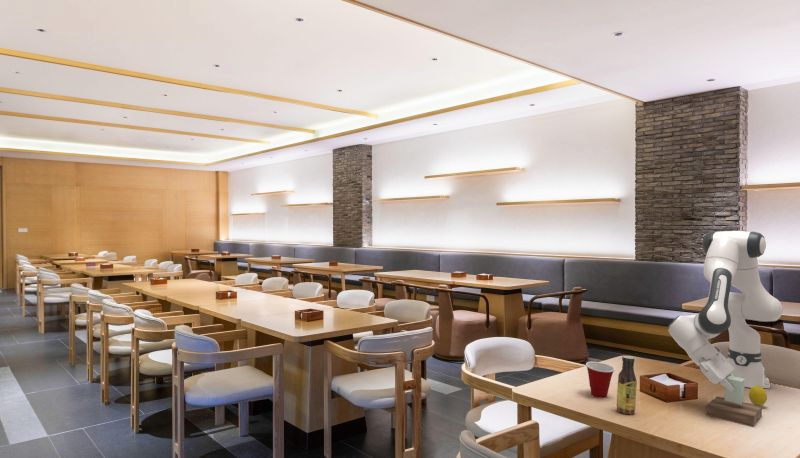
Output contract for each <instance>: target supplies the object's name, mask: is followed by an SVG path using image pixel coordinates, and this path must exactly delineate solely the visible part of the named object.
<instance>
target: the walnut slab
mask: <svg viewBox="0 0 800 458" xmlns="http://www.w3.org/2000/svg"><path fill="white" fill-rule="evenodd" d="M762 406H763V405H760V406H758V405H755V404H754V403H749V402H745V401H744V402H743V403H742V404H738V403H734V402H729V401H725V397H722V396H716V397H714V399H712V400H711V401H710V402H709V403H707V404H706V412H705V413H706V416H708V417H713V418H716V419H720V420H724V421H729V422H731V423H735V424H741V425H744V426H748V427H752V428H754V427H755V425H756V424H757V423H758V422H759V420H760V419H761V417H762V415H763V414H762V412H763V411H762V410H763V407H762Z"/></svg>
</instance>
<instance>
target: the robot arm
mask: <svg viewBox="0 0 800 458" xmlns="http://www.w3.org/2000/svg"><path fill="white" fill-rule="evenodd" d="M701 244H702V249H703V250H702V251H704V252H705V254H706V255H705V259H704V263H703V276H704V278H705V280H706V281H708V282H709V283H710V286H709V291H708V298H707V302H706V304H705V305H704V306H703V308H701V310H700V311H699V312H698V313H696V314H690V315H677V316H676V317H675V318H674V319H673V320H672V321H671V322H670V323H669V325H668V327H667V331H668V333H669V334H670V336H671V338H673V340H674V341H675V342H676V343H677V345H678V346H679V347H680V348H682V349H683V350H684V351H685V352H686V354H687V355H688V356H687V357H689V358H690V359H691V360H692V362H693V363H695V365H696V366H697V367H699V369H700V371H701V372H702V373H703V375H704V376H705V377H706V379H708V381H709V382H710V383H711V384H713V385H715V386H716V385H717V384H719V383H720V385H721V386H722V387H724V388H725V387H726V388H727V389H728V390H729V391H730V392H732V391H733V390H735V387H734V386H733V385H731V384H730V383H729V382H728V381H727V380H726V377H727V376H734V377H739V378H744V379H745V388H750V389H751V388H752V387H754V386H757V385H759V386H760V387H762V388H763V389H771V385H770V380H769V378H768V377H767V375H765V367H764V365H763V364H762V358H763V357H762V352H761V335H760V333H759V332H758V331H757V330H756V329H754V328H752V327H751V326H749V324H748V323H747V322H746V320H750V321H751V320H752V321H757V322H776V321H778V320H779V319H780V318H781V316H783V309H784V308H783V305H782V303H781V301H780V300H779V299H778V298H776V297H774V296H773V295H771V294H770V293H769V291H767V289H765V287H764V285H763V284H762V281H761V277H760V272H759V261H758V258H760V257H761V256H762V255H764V253H765V252H766V249H767V248H766V247H767V242H766V239H765V236H764V235H763V234H762V233H760V232H756V231H744V230H726V231H725V230H722V231H716V230H714V231H709V232H706V233H705V235H704V236H703V238H702V243H701ZM731 287H733V288H735V289H737V290H738V291H740V292H733V291H732V292H731ZM727 330H728V334H729V335H728V336H729V347H728V349H727V358H726V356H725V355H724V354H722V353H721V352H722V350H721V349H720V348H719V347H717V346H714V345H713V344H711V342H710V341H709V340H710V339H713V338H716V337H717V336H719V335H720V334H722V333H725V332H726V331H727Z"/></svg>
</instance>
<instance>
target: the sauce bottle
mask: <svg viewBox="0 0 800 458" xmlns="http://www.w3.org/2000/svg"><path fill="white" fill-rule="evenodd" d="M621 360H622V365H621V366H622V367H621V370H620V371H619V373H618V376H617V379H618V380H617V391H616V392H617V393H616V410H617V412H619V413H621V414H623V415H633V414H635V412H636V405H637V403H636V402H637V385H638V383H637V378H636V377H637V376H636V374H635V370H634V369H635V368H634V366H635V358H634V357H633V356H630V355H623V356H622V359H621Z"/></svg>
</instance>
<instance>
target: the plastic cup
mask: <svg viewBox="0 0 800 458" xmlns="http://www.w3.org/2000/svg"><path fill="white" fill-rule="evenodd" d="M585 365H586V370H587V374H588V382H589V387H590V388H589V389H590V394H591V396H593V397H595V398H599V399H602V398H603V399H604V398H605V399H606V398H607V397H608V393H609V389H610V385H611V381H612V377H613V373H614V372H615V371H616V367H614V366H613V365H610V364H607V363H604V362H599V361H588V362H586V363H585Z"/></svg>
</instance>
